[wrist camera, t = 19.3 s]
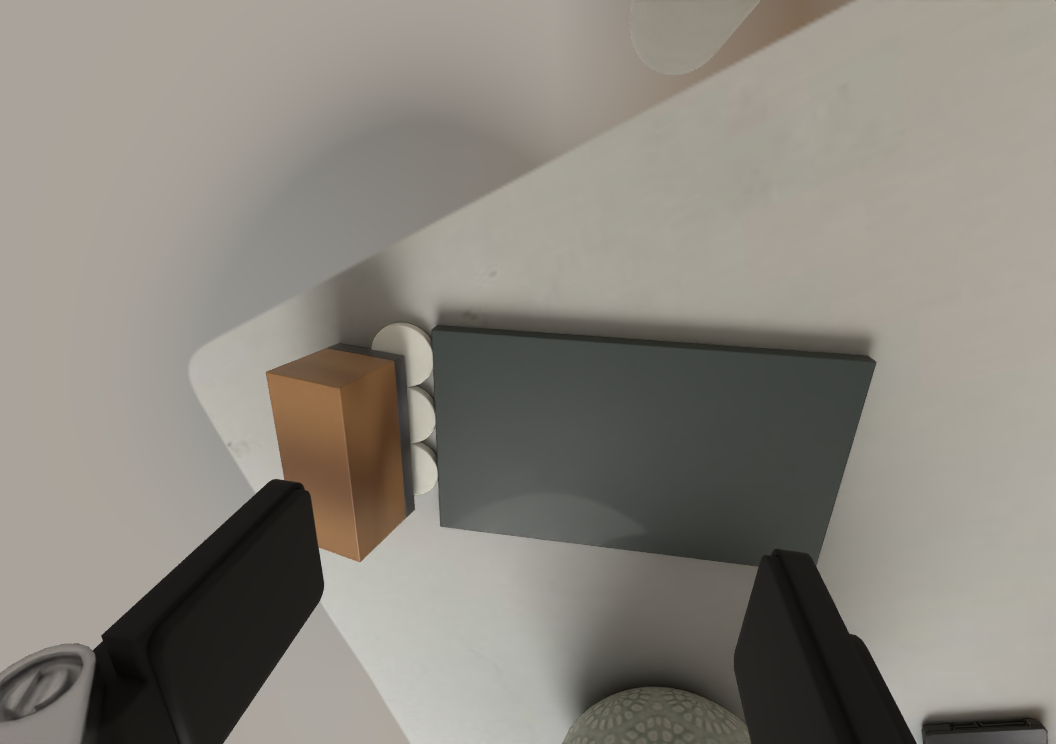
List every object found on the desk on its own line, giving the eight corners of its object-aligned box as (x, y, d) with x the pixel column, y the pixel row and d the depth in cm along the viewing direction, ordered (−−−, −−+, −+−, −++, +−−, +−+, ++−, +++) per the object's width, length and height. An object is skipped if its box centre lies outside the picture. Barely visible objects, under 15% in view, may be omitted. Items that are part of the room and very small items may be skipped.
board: (436, 324, 30) (430, 329, 29) (868, 355, 27) (877, 361, 26) (444, 517, 35) (439, 527, 34) (808, 562, 32) (814, 574, 31)
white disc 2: (377, 380, 32) (373, 384, 32) (437, 386, 32) (434, 389, 31) (381, 435, 34) (377, 440, 33) (439, 442, 33) (436, 446, 33)
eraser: (338, 342, 32) (265, 371, 27) (405, 355, 30) (339, 388, 25) (355, 491, 36) (294, 538, 31) (415, 509, 34) (360, 563, 29)
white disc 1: (362, 351, 32) (358, 355, 31) (400, 308, 30) (396, 311, 30) (410, 395, 32) (406, 399, 32) (449, 355, 31) (446, 358, 30)
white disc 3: (385, 433, 34) (381, 437, 33) (443, 446, 33) (440, 450, 33) (382, 483, 35) (378, 488, 35) (437, 496, 35) (435, 501, 34)
